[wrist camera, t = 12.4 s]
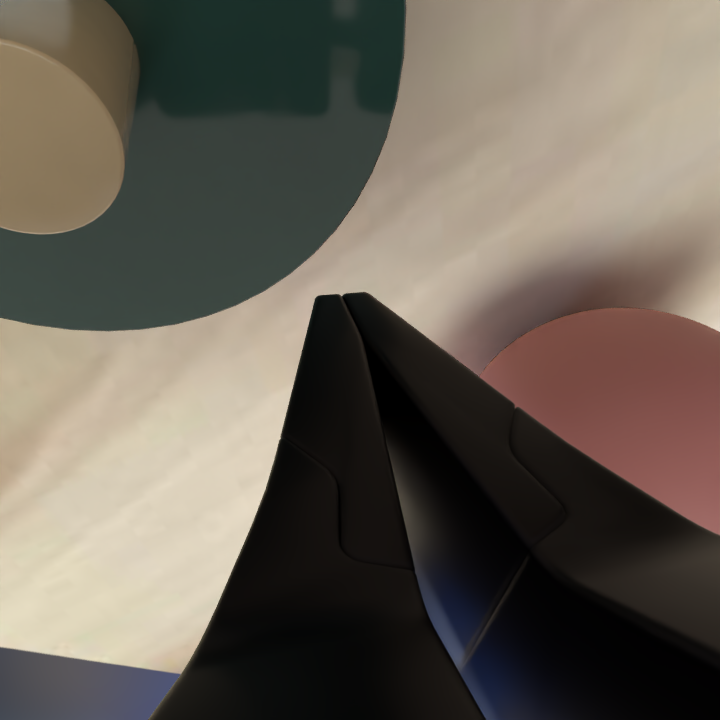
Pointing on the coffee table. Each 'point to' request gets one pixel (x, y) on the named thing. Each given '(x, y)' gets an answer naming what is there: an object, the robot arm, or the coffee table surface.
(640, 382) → the balloon
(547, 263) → the coffee table surface
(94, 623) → the coffee table surface
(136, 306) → the lid
